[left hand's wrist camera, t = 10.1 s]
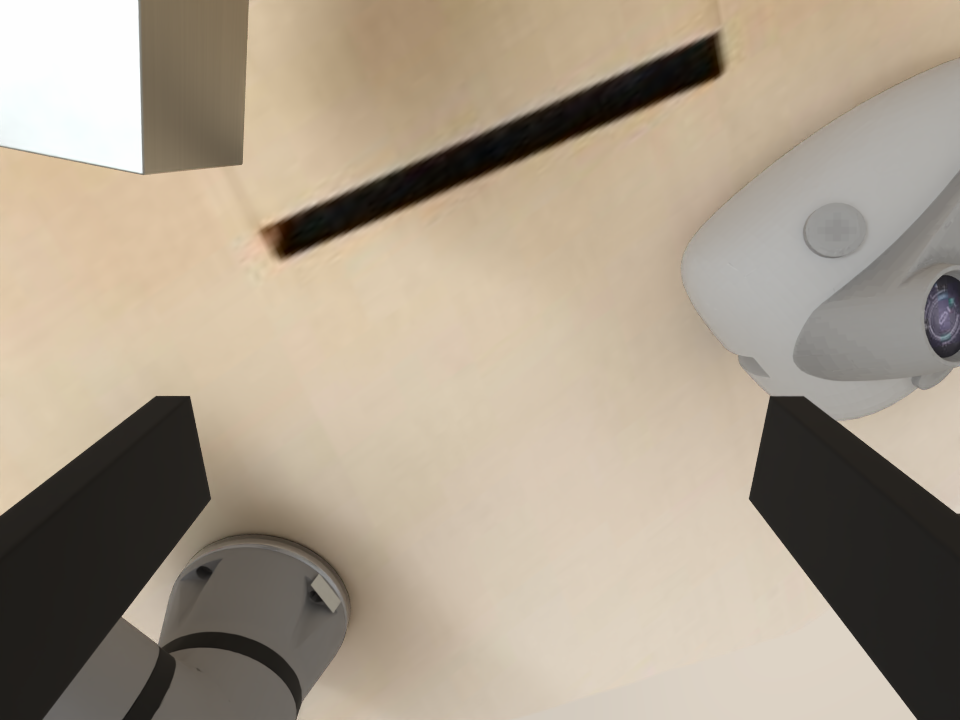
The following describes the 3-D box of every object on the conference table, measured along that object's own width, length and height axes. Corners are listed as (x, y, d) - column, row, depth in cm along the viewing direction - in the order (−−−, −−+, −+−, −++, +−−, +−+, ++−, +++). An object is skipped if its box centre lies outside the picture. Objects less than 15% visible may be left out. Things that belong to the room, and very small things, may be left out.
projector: (955, 380, 42) (1183, 492, 29) (653, 392, 43) (735, 508, 29) (1050, 50, 34) (1427, -13, 21) (677, 68, 35) (806, 18, 21)
